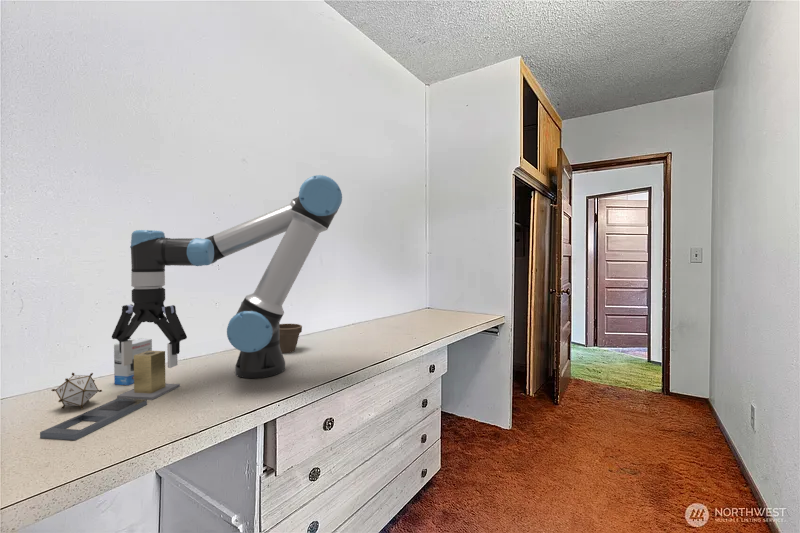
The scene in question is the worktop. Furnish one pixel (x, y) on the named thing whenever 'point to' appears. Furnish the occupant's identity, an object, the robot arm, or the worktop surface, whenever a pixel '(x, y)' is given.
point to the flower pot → (289, 337)
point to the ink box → (126, 373)
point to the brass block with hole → (149, 371)
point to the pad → (149, 396)
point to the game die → (76, 390)
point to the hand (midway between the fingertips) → (149, 365)
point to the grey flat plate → (93, 419)
